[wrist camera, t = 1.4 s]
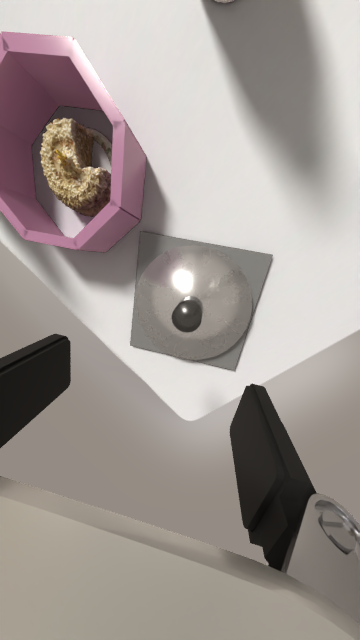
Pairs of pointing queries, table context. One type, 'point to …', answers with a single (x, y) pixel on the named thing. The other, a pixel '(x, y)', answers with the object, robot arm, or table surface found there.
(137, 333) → the mat
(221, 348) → the lid
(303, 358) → the table surface
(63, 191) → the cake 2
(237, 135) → the table surface
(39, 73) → the pink octagonal dish
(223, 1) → the milk bottle
